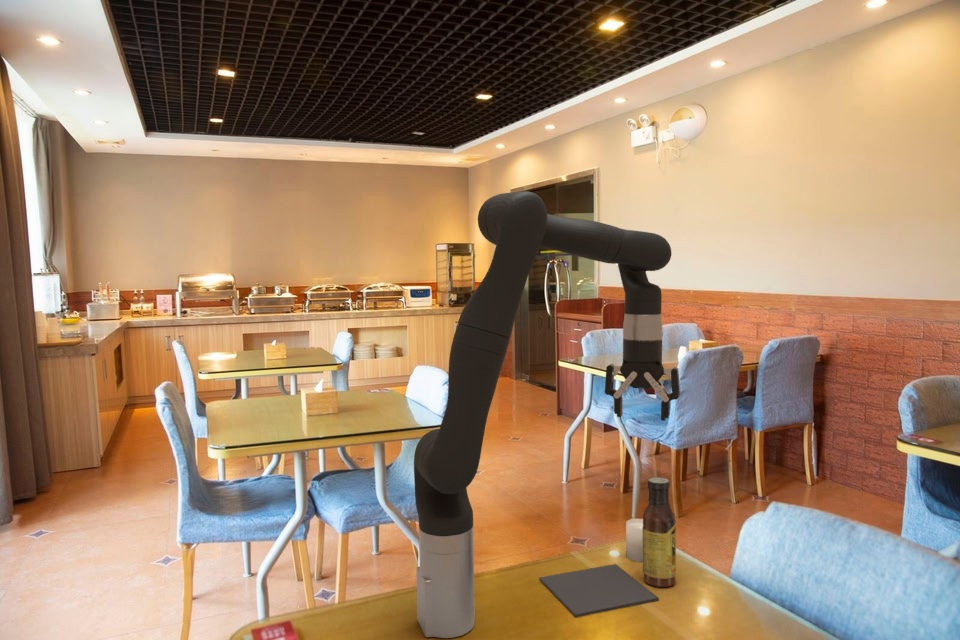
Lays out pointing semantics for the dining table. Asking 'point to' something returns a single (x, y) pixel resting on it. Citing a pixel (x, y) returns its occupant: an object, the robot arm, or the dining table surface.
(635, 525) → the white rounded cylinder
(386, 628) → the dining table surface
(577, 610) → the bar mat
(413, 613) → the dining table surface
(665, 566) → the sauce bottle
